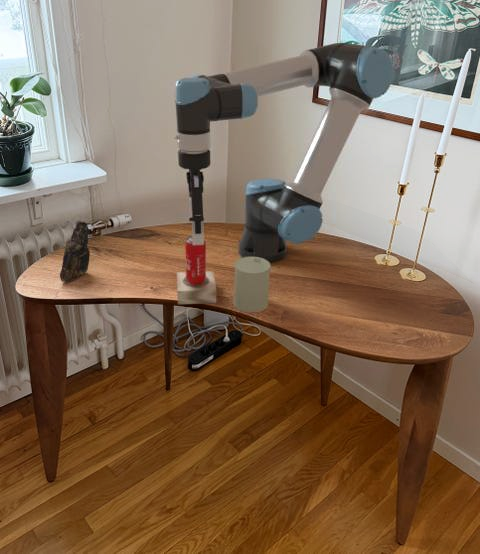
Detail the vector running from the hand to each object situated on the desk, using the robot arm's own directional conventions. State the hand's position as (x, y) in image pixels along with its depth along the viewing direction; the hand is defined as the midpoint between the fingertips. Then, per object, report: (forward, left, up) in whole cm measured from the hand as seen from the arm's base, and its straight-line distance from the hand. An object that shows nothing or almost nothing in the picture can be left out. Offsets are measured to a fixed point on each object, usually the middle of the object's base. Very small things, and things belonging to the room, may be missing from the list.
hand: (196, 232), depth 132 cm
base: (0, 0, -18) cm, 18 cm away
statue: (+33, -13, -18) cm, 40 cm away
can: (-14, +6, -18) cm, 23 cm away
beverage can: (0, 0, -14) cm, 14 cm away
